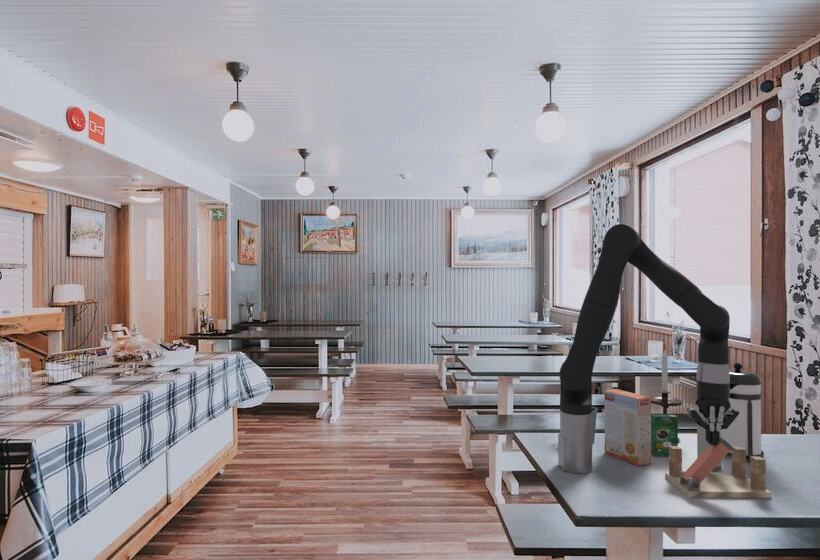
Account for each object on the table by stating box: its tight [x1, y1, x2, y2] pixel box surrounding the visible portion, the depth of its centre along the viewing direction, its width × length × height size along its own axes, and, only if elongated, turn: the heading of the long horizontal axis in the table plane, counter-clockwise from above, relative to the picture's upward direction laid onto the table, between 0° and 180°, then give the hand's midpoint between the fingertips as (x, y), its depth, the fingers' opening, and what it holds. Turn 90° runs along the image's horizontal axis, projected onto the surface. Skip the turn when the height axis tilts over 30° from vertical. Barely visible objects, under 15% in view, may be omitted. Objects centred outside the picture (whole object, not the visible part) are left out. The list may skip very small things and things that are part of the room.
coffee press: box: [721, 362, 765, 463], centre depth 160 cm, size 17×16×30 cm
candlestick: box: [650, 341, 683, 444], centre depth 175 cm, size 11×11×35 cm
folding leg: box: [682, 437, 733, 483], centre depth 130 cm, size 3×3×14 cm
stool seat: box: [664, 446, 772, 499], centre depth 134 cm, size 21×14×10 cm, turn 88°
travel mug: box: [696, 410, 723, 472], centre depth 149 cm, size 6×7×20 cm
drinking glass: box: [592, 405, 598, 444], centre depth 174 cm, size 10×10×12 cm
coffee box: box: [651, 413, 679, 457], centre depth 159 cm, size 8×3×13 cm, turn 91°
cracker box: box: [604, 388, 652, 467], centre depth 157 cm, size 14×6×21 cm, turn 22°
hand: (712, 444), depth 130 cm, fingers closed
